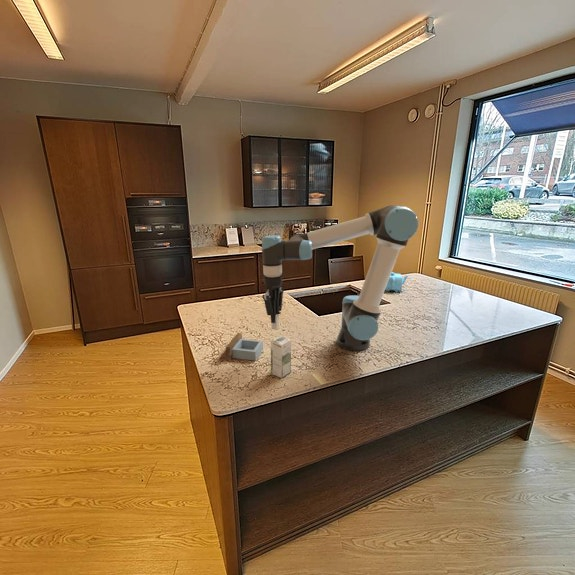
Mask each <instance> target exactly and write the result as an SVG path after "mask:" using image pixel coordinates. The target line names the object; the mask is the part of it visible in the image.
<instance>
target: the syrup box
mask: <svg viewBox="0 0 575 575" xmlns="http://www.w3.org/2000/svg"><path fill="white" fill-rule="evenodd" d="M291 369H292V340H291V339H290V338H288V337H285V336H281V335H280V336H278V337H276V338H274V339H272V340H270V374H271V375H274V376H275V377H278V378H281V379H283V378H284V377H287V375H289V374H290V373H291V371H292V370H291Z"/></svg>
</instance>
